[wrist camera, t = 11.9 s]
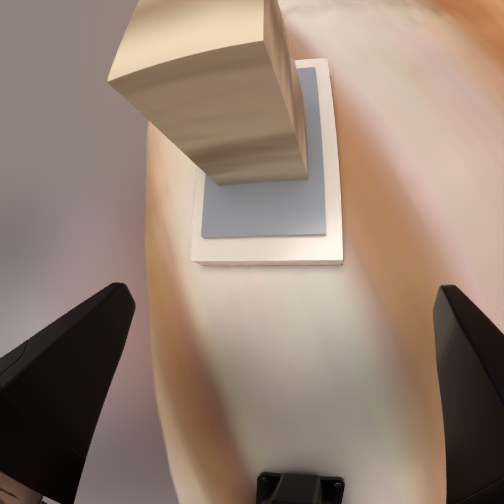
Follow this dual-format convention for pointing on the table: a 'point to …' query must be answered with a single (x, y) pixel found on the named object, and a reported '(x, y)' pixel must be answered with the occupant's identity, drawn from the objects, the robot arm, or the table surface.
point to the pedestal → (278, 200)
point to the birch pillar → (218, 86)
